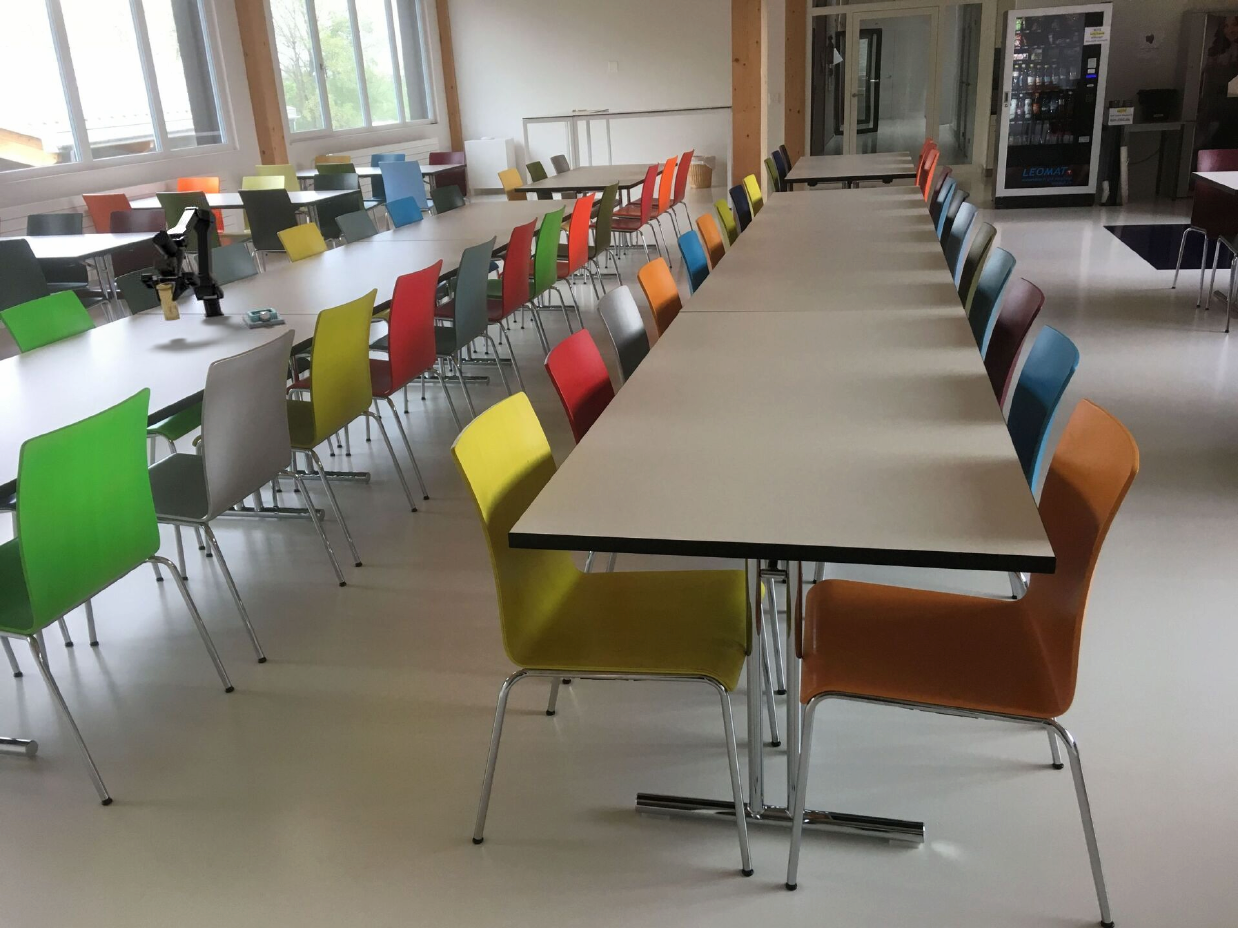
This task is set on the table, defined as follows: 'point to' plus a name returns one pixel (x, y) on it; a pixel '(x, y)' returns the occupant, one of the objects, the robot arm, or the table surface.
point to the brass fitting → (168, 301)
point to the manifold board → (261, 324)
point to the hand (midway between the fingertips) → (166, 301)
